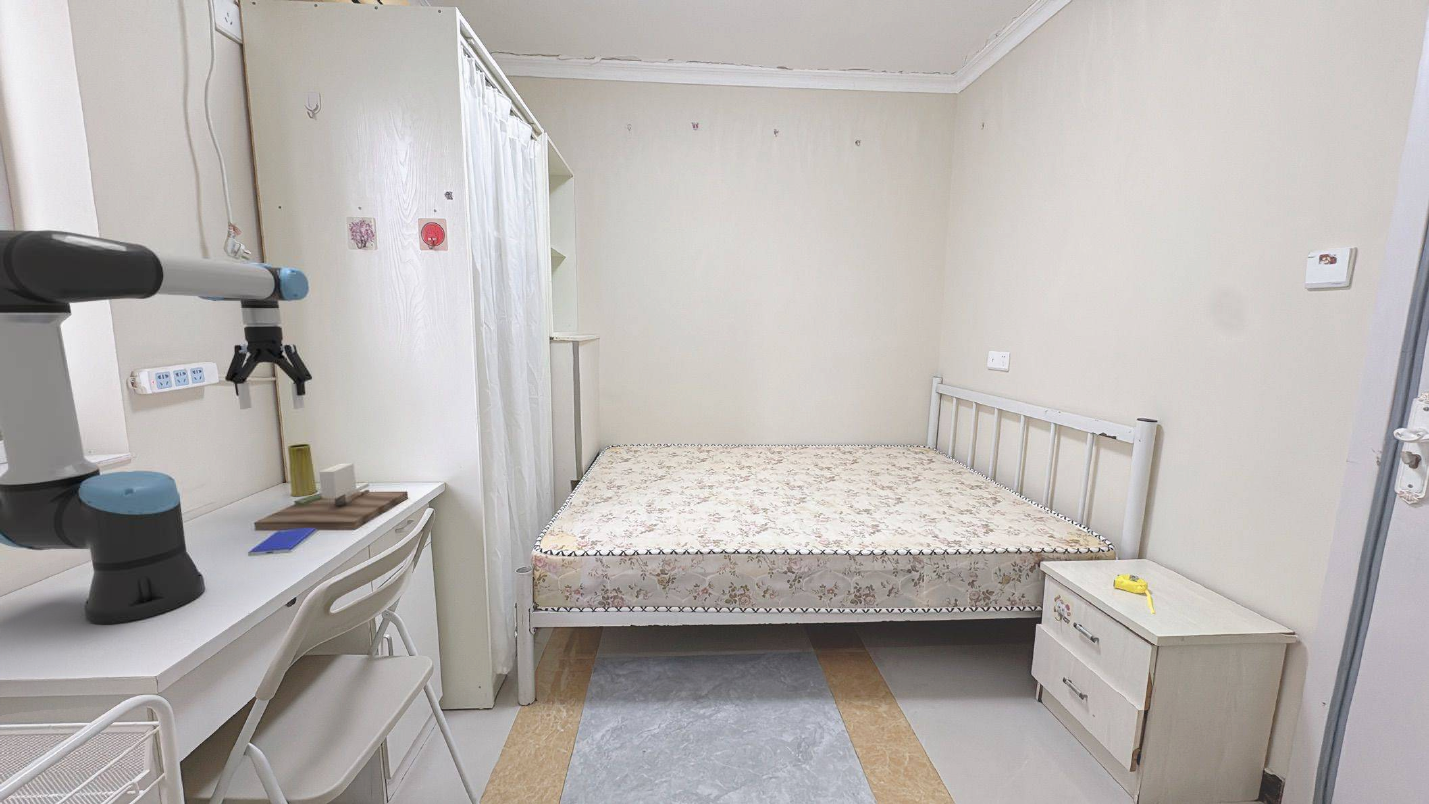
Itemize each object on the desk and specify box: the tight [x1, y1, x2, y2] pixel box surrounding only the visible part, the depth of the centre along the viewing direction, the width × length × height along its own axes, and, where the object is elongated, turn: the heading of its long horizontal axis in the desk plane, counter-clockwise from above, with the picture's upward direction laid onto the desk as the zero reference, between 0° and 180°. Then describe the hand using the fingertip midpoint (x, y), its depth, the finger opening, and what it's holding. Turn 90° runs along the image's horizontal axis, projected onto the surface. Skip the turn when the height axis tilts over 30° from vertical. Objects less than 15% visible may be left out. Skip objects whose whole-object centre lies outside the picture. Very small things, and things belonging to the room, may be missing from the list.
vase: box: [287, 443, 318, 497], centre depth 163 cm, size 6×6×14 cm
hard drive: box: [247, 528, 318, 557], centre depth 128 cm, size 2×8×12 cm
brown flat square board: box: [253, 489, 409, 531], centre depth 147 cm, size 24×24×3 cm
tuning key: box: [318, 463, 370, 506], centre depth 150 cm, size 16×4×10 cm, turn 0°
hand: (272, 408), depth 145 cm, fingers open, 13 cm apart
